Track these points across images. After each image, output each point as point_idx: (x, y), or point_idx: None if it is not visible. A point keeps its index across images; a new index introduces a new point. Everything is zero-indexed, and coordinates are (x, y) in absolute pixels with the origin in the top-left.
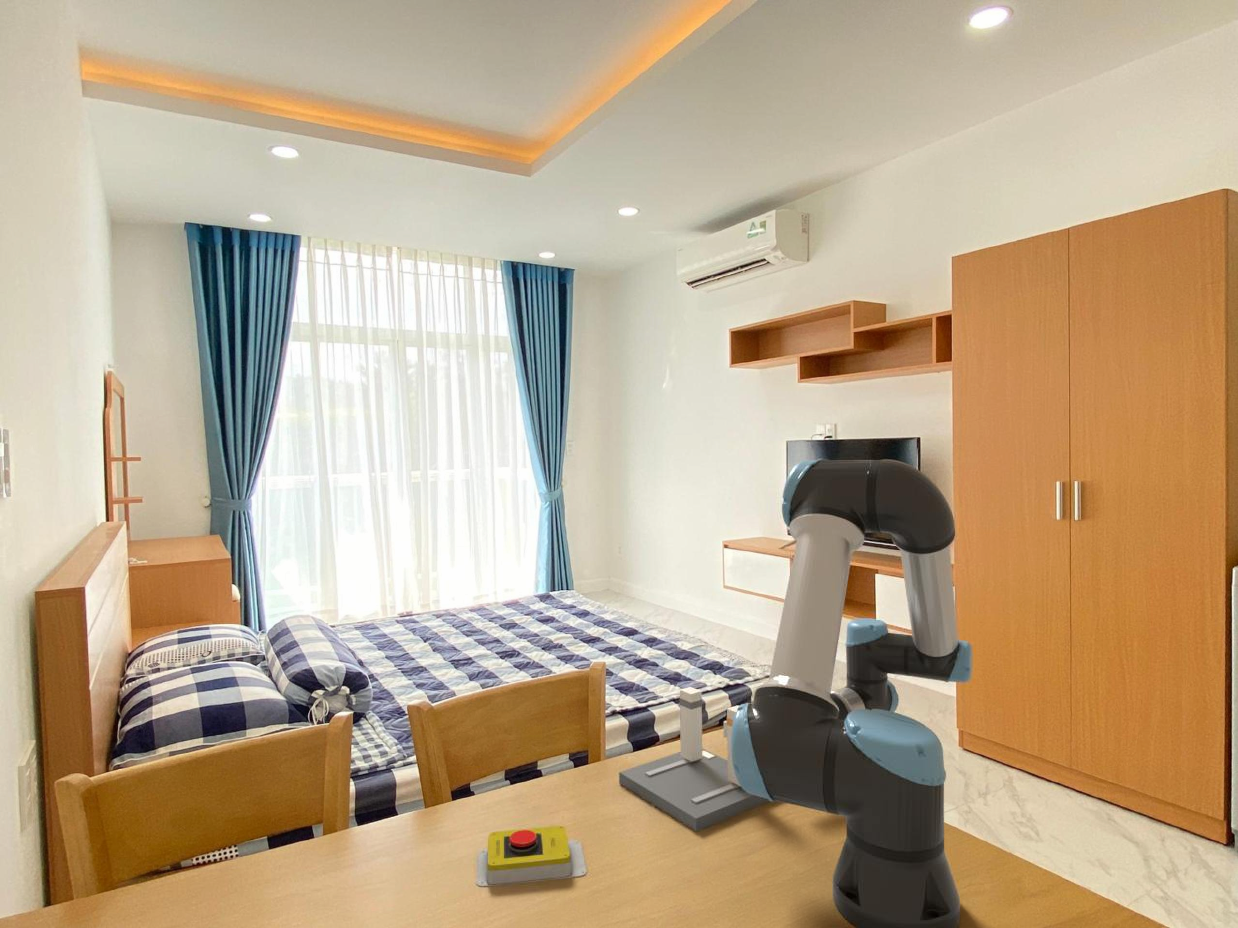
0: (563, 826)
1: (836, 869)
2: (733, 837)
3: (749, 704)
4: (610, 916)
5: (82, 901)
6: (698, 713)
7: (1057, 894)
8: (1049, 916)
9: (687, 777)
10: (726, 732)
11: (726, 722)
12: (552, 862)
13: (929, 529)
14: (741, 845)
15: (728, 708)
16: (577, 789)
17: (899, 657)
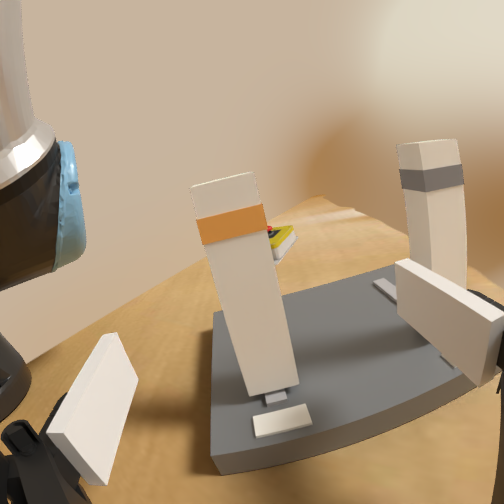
0: (274, 243)
1: (14, 350)
2: (172, 356)
3: (59, 144)
4: (169, 278)
5: (323, 194)
6: (421, 210)
7: None
8: None
9: (353, 319)
10: (397, 296)
11: (396, 262)
12: None
13: None
14: (151, 356)
15: (247, 172)
16: (389, 257)
17: None
